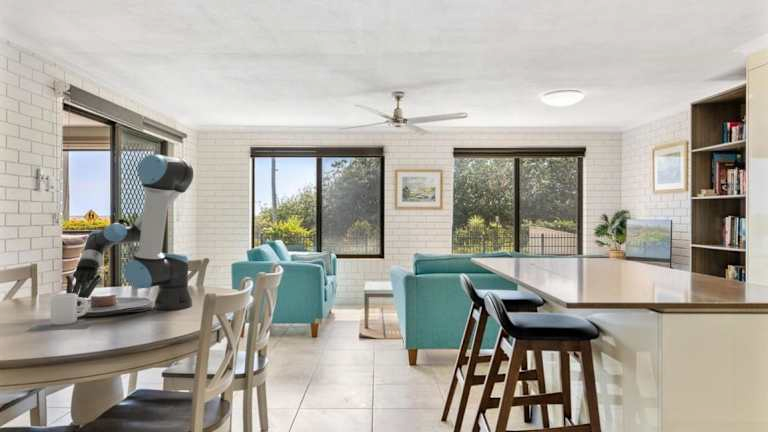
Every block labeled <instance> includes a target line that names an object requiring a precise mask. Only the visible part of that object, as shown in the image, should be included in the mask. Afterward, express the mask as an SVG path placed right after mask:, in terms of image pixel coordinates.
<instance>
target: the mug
mask: <svg viewBox="0 0 768 432" xmlns="http://www.w3.org/2000/svg"><path fill="white" fill-rule="evenodd" d="M77 296H78V295H77V294H75V293H66V292H65V293H57V294H53V295H50V299H49V300H50V303H49V304H50V308H49V309H50V325H66V324H72V323H75V322H76V321H77V320H78V318H80V317H83V316H84V315H86V314H87V312H88V311H89V309H90V308H89V307H90V306H89V302H88V300H87V298H82V297H77ZM77 301H81V303H83V304H84V309H83V310H82V311H81V312H78V307H77Z"/></svg>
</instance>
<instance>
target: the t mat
mask: <svg viewBox="0 0 768 432" xmlns="http://www.w3.org/2000/svg"><path fill="white" fill-rule="evenodd" d="M84 321H86V319H77V321H76V322H75V323H72V324H66V325H52V324H37V325H35V326H33V327H31V328H29V329H28V330H26V332H33V331H34V332H36V331H41V332H42V331H60V330H61V331H62V330H67V331H68V330H87V329H88V328H90V327H91V326H93V325H96V324H95V323H96V322H89V323H88V322H87V323H86V322H85V323H84Z"/></svg>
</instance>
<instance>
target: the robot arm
mask: <svg viewBox="0 0 768 432" xmlns="http://www.w3.org/2000/svg"><path fill="white" fill-rule="evenodd" d="M136 175H137V177H138V179H139V181H140V182H141V183H142V188H143V189H144V190H145V195H144V197H145V198H144V204H143V205H144V206H143V209H142V211H141V212H140V213H139V216H137V218H136V219H135V220H134V222H133V223H132V224H131V225H124V224H122V223H120V222H113V223H111V224H109V225H107V226H106V227H105V228H103V229H102V230H100V229H99V230H93V231H91V232H90V233H89V235H88V237H87V239H86V242H85V245H84V248H83V250H82V253H81V256H80V257H79V261H78V263H77V266H76V269H75V271H74V272H73V274H71V275H66V276H65V278H66V292H65V293H75V294H77V297H82V298H84V299H88V298H90V296H91V295H92V293H93V292H94V290H95V288H96V287H97V286H98V284H99V283H100V282H101V281H102V280H103V279H102V277H101V274H98V271H99V268H100V265H101V262H102V259H103V255H104V253H105V251H106V250H108V248H111V247H113V246H115V245H118V244H127V243H128V244H131V243H138V250H135V252H134V253H133V257H132V259H131V260H130V261H128V262H127V263H126V264H125V267H124V277H125V280H126V281H127V282H128V284H129V285H130V286H131V287H132V288H134V289H139V290H140V289H149V288H152V287H157V286H158V291H157V294H156V297H155V300H154V301H153V302H154V304H153V305H154V306H153V308H154V309H156V310H160V311H171V310H181V309H186V308H189V307H192V306H193V298H192V296H191V293H190V291H189V261H188V259H189V258H188V256H187V255H186V254H181V253H180V254H179V253H178V254H177V253H165V252H163V245H164V237H165V230H166V224H167V216H168V215H167V214H168V209H169V208H170V207H171V205H172V204H173V203H174V202H175V200H176V199H177V198H178V197H179V195H180V194H184V193H185V192H186V191H187V190H188V188H190V186H191V185H192V182H193V179H194V168H193V166H192V164H191V163H190V162H189V161H188V160H186V159H185V158H182V157H181V156H172V155H163V154H148V155H146V156H144V157H143V158H142V159H141V160H140V162H139V163H138V165H137V174H136ZM74 279H75V284H74V286H73V281H74ZM81 304H82V302H81V301H77V308H78V307H80V306H81Z"/></svg>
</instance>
